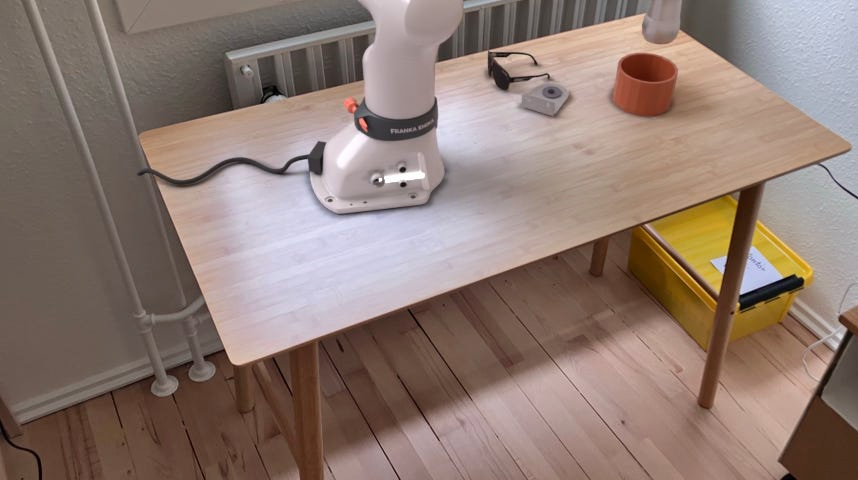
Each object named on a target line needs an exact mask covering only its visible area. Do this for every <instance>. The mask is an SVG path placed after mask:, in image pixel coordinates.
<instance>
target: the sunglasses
mask: <svg viewBox="0 0 858 480" xmlns="http://www.w3.org/2000/svg"><path fill="white" fill-rule="evenodd" d="M511 55H523V56H528V57H530V58H531V60H532V61H533V64H534V66H538V61H537V59H535V57H534V56H533V55H532V54H530V53H527V52H522V51H521V52H520V51H490V50H487V74H488V77H493V80H494V83H495V85H496V87H497V88H498V89H500V90H502V91H508V90H509V88H510V85H511V84H513V83H522V82H528V81H531V79H534V78H542V77H544V76H547V80H548V81H549V80H550V78H551V75H550V73H548V72H545V73H542V74H538V75H523V76H511V75H510V73H509V72H508V71H507V70H505V68H503V66H501V64H500V63H498V62H497V60H496V58H508V57H510V56H511Z"/></svg>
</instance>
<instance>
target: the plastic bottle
mask: <svg viewBox="0 0 858 480" xmlns="http://www.w3.org/2000/svg"><path fill="white" fill-rule="evenodd" d="M682 3H683V0H649V2H648V6H647V10H646V12H645V15H644V17H643V20H642V23H641V35H642V36H643V37H642V38H644V40H645V41H646V42H648V43H650V44H653V45H668V44H671V43H673V42H674V41H675V40H676V38H678V35H679V32H680V29H681V12H682Z"/></svg>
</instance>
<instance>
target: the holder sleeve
mask: <svg viewBox="0 0 858 480" xmlns="http://www.w3.org/2000/svg"><path fill="white" fill-rule="evenodd" d="M678 75H679V68H678V67H677V65H676V64H675V62H673V61H672V60H670V59H669V58H667V57H665V56H662V55H659V54H656V53H650V52H635V53H634V52H633V53H628V54H626V55H624V56H622V57H621V58H620V59H619V60H618V63H617V69H616V74H615V81H614V85H613V91H612V100H613V102H614V104H615V105H616V106H617V107H618V108H619V109H621V110H623V111H624V112H626V113H629V114H632V115H636V116H642V117H643V116H645V117H651V116H658V115H661V114H664V113H665V112H667V111H668V110H669V109H670V107H671V106H672V105H671V104H672V102H673V97H674V93H675V88H676V84H677V79H678Z"/></svg>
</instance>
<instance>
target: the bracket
mask: <svg viewBox="0 0 858 480" xmlns="http://www.w3.org/2000/svg"><path fill="white" fill-rule="evenodd" d="M569 95H570V93H569V90H568V89H567V87H565V86H564V85H562V84H560V83H555V82H546V83H542V84H540V85H538V86H537V87H536V88H535V89H534V91H533V92H532V93H531V94H530V93H527V92H522V93H521V107H524V109H528V110H531V111H533V112H538V113H540V114H544V115H547V116H553V117H554V116H556V114H557V113H558V112H559V111H560V109H561V108H562V107H563V105H564V104H565V103H566V101H567V100H568V99H569ZM526 98H527V99H526Z"/></svg>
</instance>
